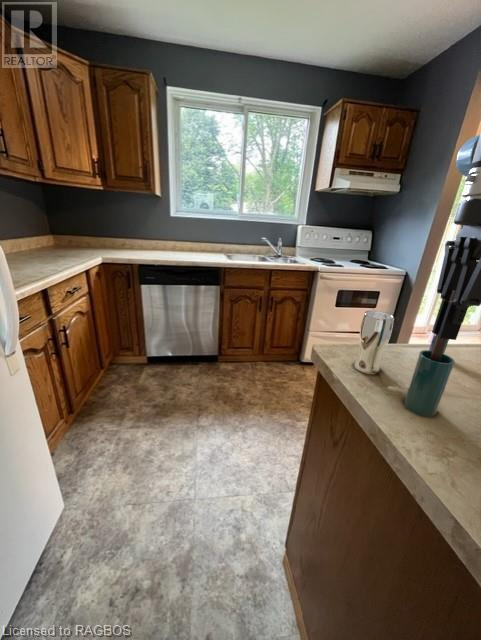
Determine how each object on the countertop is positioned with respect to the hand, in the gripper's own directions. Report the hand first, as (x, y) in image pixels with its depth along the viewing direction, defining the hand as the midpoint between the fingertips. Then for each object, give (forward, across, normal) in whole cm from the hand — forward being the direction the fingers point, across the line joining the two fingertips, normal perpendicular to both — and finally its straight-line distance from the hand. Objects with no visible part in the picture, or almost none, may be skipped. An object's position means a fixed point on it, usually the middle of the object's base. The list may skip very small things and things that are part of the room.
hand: (443, 335), depth 51 cm
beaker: (+16, 0, 0) cm, 16 cm away
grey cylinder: (+16, -26, +15) cm, 35 cm away
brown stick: (+11, 0, 0) cm, 11 cm away
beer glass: (+17, -14, -7) cm, 23 cm away
